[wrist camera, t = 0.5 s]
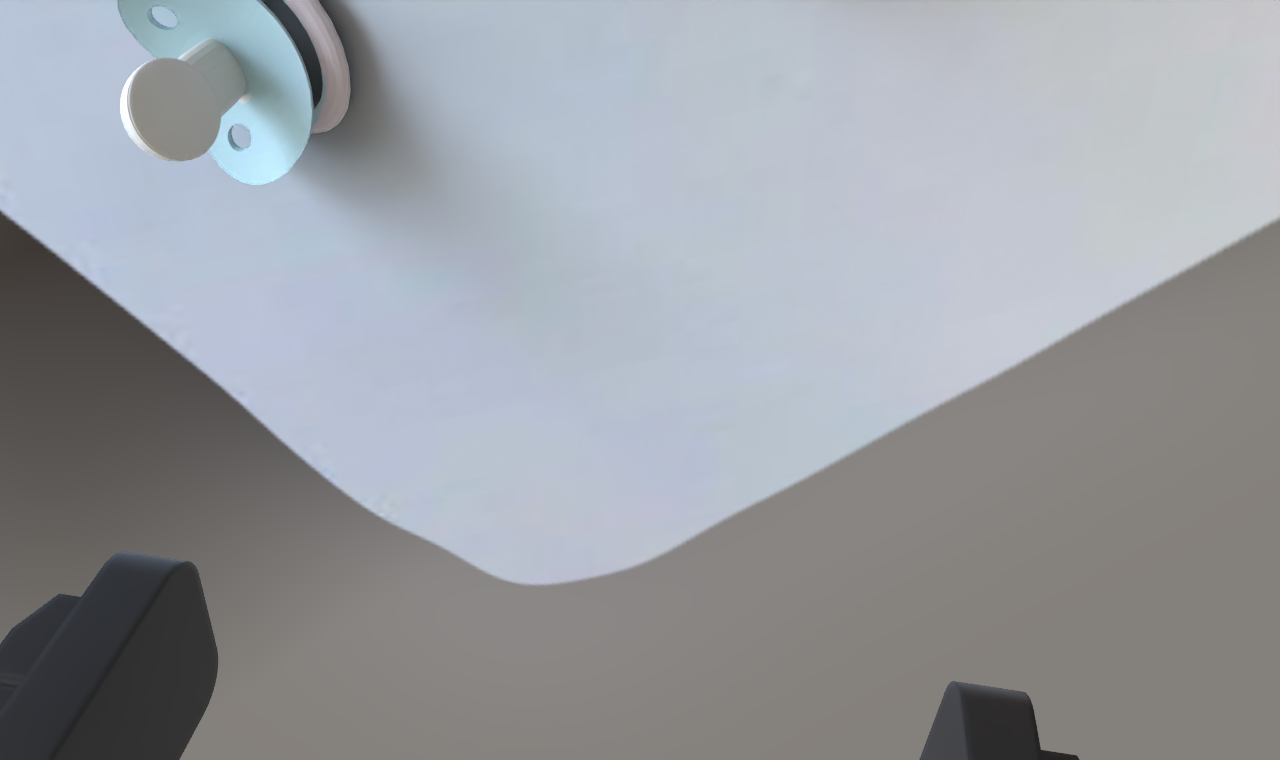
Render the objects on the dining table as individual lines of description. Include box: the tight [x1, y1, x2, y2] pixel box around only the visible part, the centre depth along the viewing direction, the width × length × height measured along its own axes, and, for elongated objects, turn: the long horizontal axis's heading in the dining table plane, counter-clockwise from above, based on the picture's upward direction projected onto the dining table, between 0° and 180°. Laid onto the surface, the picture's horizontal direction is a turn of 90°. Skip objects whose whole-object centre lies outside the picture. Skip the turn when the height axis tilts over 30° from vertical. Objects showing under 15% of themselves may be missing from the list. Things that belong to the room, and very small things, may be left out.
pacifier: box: [118, 0, 351, 185], centre depth 35 cm, size 7×6×6 cm
